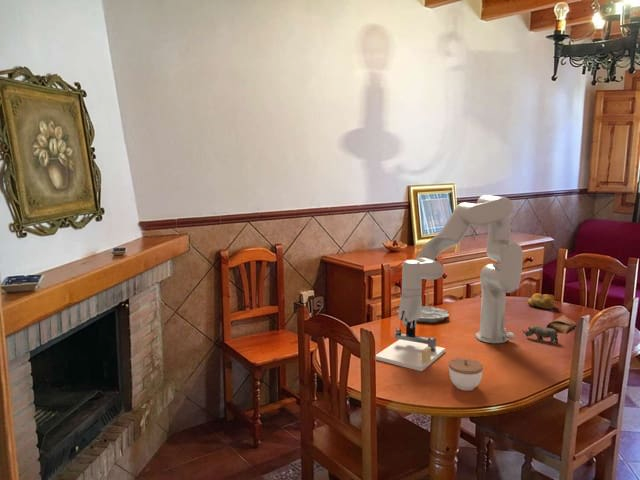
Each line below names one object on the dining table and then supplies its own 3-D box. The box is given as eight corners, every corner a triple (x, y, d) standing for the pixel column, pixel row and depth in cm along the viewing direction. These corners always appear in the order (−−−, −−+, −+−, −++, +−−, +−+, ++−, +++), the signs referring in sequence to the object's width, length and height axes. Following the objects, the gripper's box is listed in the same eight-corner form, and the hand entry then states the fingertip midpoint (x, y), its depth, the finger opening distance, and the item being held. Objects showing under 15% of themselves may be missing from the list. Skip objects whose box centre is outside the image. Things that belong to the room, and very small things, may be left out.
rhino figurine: (523, 335, 214) (524, 322, 213) (558, 342, 206) (559, 328, 205) (521, 338, 210) (521, 324, 209) (556, 345, 202) (557, 331, 201)
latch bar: (436, 348, 194) (437, 334, 193) (434, 351, 192) (435, 336, 191) (397, 342, 202) (397, 327, 201) (394, 344, 199) (394, 330, 198)
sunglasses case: (566, 334, 214) (559, 319, 216) (551, 339, 219) (544, 324, 220) (580, 324, 227) (573, 310, 229) (565, 329, 232) (558, 315, 233)
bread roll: (525, 307, 254) (526, 291, 253) (530, 302, 262) (531, 287, 261) (552, 311, 246) (553, 295, 245) (557, 307, 254) (558, 291, 253)
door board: (445, 351, 196) (445, 337, 195) (422, 371, 178) (422, 355, 177) (400, 341, 207) (401, 328, 206) (374, 359, 189) (375, 344, 188)
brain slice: (450, 326, 227) (450, 319, 226) (411, 323, 230) (412, 317, 230) (448, 313, 246) (448, 307, 245) (412, 311, 249) (413, 305, 249)
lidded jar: (476, 396, 159) (478, 368, 158) (443, 388, 165) (444, 361, 163) (485, 384, 168) (486, 357, 167) (453, 376, 174) (454, 351, 172)
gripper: (413, 286, 205) (412, 329, 208) (392, 293, 194) (391, 339, 197) (429, 289, 200) (428, 333, 203) (408, 297, 189) (407, 343, 192)
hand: (410, 336), depth 200 cm, fingers closed
